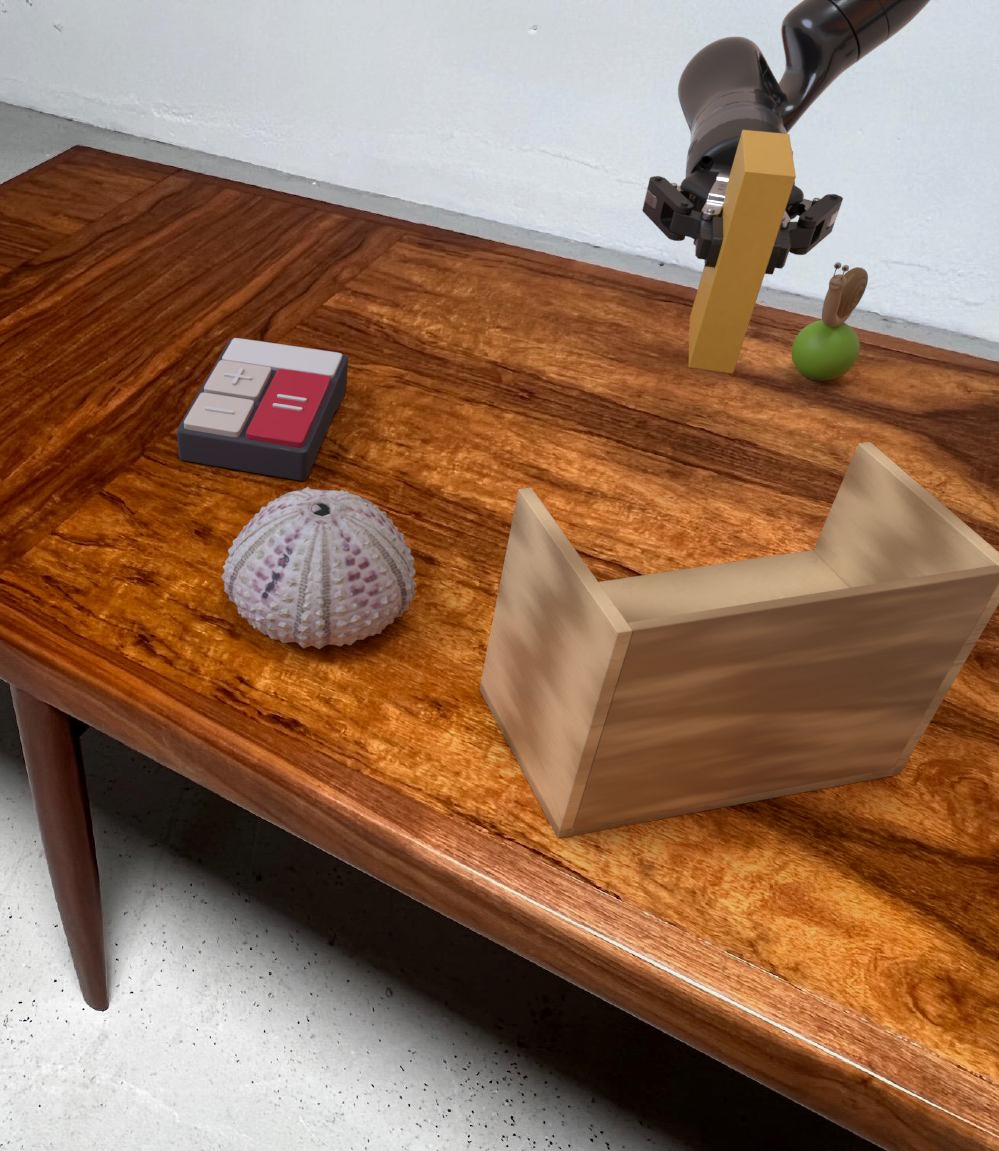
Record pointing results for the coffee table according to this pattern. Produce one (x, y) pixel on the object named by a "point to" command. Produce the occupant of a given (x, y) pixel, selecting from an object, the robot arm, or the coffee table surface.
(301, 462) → the calculator
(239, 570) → the sea urchin shell
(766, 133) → the mustard yellow pillar block
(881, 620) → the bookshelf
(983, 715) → the coffee table surface
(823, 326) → the snail figurine
